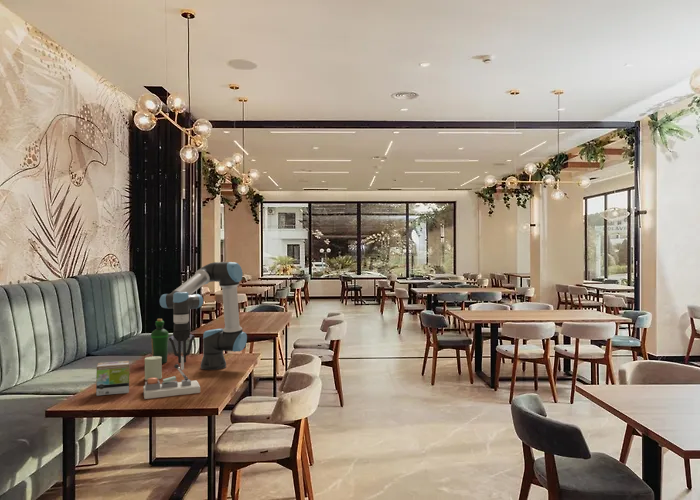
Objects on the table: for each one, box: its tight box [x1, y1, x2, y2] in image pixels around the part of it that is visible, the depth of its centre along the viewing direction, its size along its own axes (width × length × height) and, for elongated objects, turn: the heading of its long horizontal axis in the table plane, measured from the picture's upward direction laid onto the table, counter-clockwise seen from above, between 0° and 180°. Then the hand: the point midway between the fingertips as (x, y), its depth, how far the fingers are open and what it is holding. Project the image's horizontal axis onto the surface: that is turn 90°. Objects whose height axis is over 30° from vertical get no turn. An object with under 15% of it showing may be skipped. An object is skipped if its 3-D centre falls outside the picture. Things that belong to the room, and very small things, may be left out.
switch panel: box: [143, 378, 201, 400], centre depth 257 cm, size 26×14×6 cm, turn 114°
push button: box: [147, 378, 159, 384], centre depth 254 cm, size 5×5×3 cm
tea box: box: [95, 360, 130, 397], centre depth 258 cm, size 15×10×15 cm
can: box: [144, 355, 163, 381], centre depth 286 cm, size 9×9×12 cm
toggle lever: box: [174, 363, 189, 380], centre depth 259 cm, size 2×2×10 cm
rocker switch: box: [162, 375, 177, 383], centre depth 257 cm, size 6×4×1 cm, turn 114°
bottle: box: [150, 318, 170, 365], centre depth 327 cm, size 11×11×28 cm
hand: (182, 369), depth 259 cm, fingers closed
